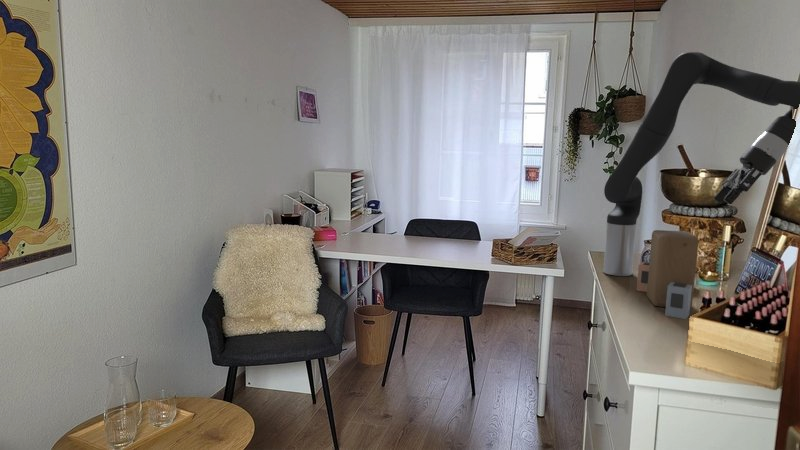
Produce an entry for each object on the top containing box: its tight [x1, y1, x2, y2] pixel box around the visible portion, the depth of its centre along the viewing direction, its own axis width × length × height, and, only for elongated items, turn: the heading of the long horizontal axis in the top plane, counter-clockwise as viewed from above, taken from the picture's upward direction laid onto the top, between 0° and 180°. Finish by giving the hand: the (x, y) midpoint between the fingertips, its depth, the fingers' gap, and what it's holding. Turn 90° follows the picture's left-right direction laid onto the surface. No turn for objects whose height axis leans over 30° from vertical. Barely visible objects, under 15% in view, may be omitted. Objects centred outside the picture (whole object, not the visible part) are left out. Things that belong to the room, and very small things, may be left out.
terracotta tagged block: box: [636, 261, 650, 293], centre depth 174 cm, size 5×5×8 cm
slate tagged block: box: [664, 282, 692, 320], centre depth 150 cm, size 5×5×8 cm
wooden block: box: [646, 229, 699, 309], centre depth 160 cm, size 10×10×20 cm
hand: (721, 201), depth 156 cm, fingers open, 8 cm apart
